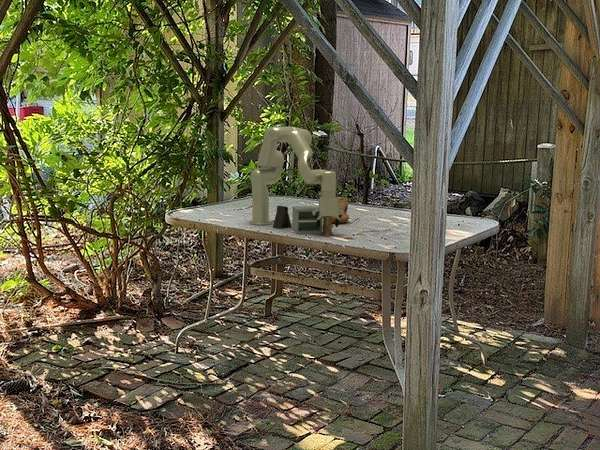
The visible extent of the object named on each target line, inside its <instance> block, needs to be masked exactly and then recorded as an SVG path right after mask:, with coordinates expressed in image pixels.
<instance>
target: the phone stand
mask: <svg viewBox="0 0 600 450" xmlns="http://www.w3.org/2000/svg"><path fill="white" fill-rule="evenodd" d="M272 228H274V229H279V230H282V229H292V222H291V218H290V215H289V207H288V206H284V205H277V206H276V214H275V217H274V221H273V225H272Z"/></svg>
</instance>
